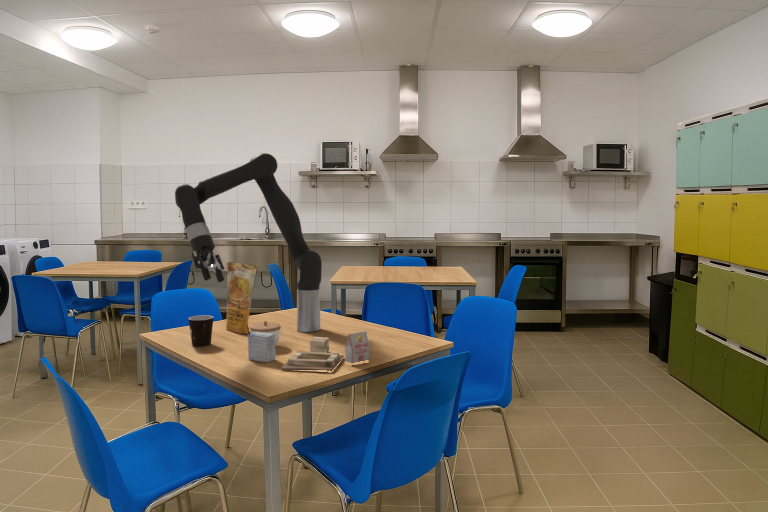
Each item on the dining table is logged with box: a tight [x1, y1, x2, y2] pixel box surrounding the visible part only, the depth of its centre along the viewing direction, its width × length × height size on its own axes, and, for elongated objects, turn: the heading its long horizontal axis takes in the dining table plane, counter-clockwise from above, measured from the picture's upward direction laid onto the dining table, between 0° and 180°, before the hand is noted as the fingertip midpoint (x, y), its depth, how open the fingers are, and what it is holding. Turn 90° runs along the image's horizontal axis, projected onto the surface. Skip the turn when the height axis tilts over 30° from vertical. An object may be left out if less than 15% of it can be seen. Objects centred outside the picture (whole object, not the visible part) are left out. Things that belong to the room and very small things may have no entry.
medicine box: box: [247, 332, 277, 364], centre depth 161 cm, size 8×4×9 cm, turn 65°
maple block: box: [309, 336, 330, 353], centre depth 170 cm, size 5×5×5 cm
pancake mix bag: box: [225, 261, 258, 335], centre depth 201 cm, size 7×19×28 cm, turn 47°
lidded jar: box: [249, 320, 282, 345], centre depth 178 cm, size 11×11×9 cm
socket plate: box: [280, 350, 345, 371], centre depth 157 cm, size 16×16×2 cm
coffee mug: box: [188, 314, 214, 348], centre depth 178 cm, size 12×9×10 cm
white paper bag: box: [345, 331, 370, 363], centre depth 159 cm, size 4×7×10 cm, turn 126°
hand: (215, 280), depth 169 cm, fingers open, 8 cm apart
